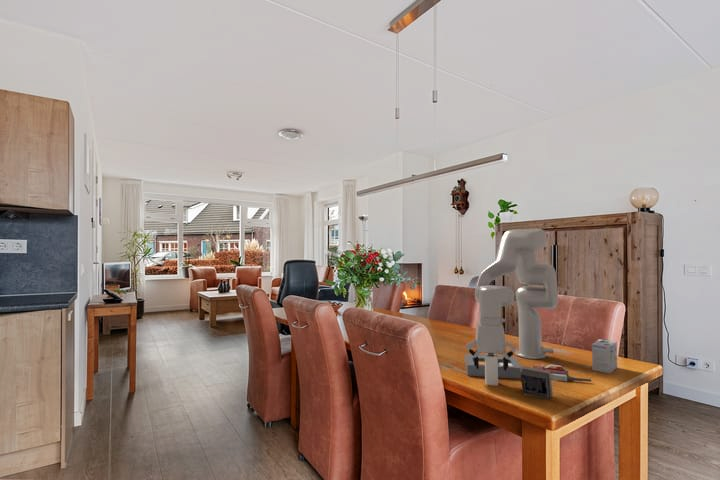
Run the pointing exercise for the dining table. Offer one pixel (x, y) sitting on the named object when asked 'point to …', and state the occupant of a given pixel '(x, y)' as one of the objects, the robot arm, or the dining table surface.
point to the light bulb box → (604, 355)
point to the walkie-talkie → (559, 373)
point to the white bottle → (491, 369)
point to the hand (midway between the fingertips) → (490, 368)
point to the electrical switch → (536, 382)
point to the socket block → (511, 372)
